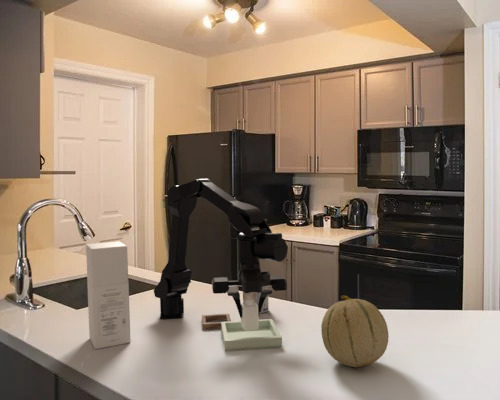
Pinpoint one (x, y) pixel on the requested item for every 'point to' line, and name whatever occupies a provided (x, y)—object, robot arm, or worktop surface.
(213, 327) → the holder
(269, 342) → the tray
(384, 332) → the cantaloupe
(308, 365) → the worktop surface
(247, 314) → the salt shaker
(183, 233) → the robot arm
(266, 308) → the energy drink
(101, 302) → the tall white carton
